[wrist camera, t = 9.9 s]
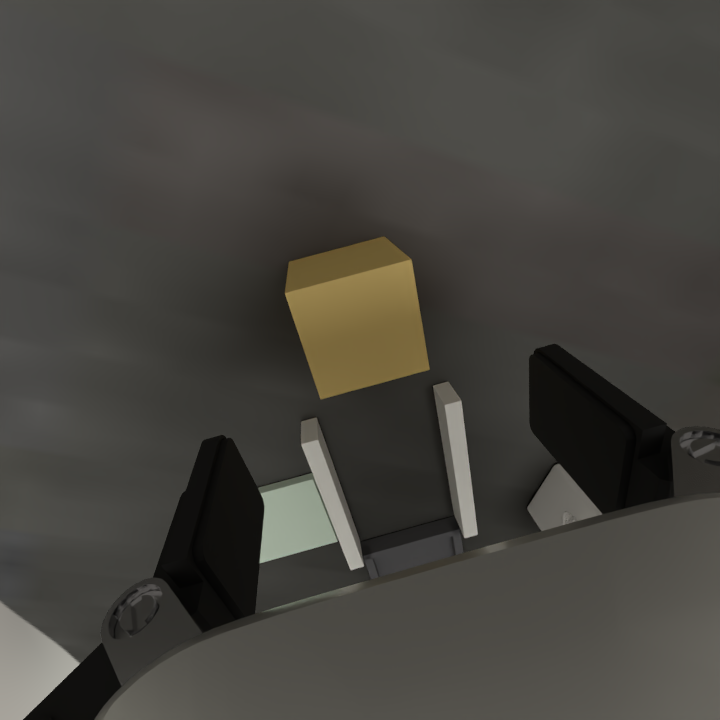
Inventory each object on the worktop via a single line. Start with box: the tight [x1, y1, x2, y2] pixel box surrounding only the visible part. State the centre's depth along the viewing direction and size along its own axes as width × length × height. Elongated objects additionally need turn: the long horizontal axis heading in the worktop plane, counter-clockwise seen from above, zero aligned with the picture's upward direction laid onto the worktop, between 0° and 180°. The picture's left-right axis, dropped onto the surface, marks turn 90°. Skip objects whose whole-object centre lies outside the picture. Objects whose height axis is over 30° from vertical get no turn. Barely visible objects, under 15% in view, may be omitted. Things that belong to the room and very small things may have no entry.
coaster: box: [258, 473, 338, 563], centre depth 27 cm, size 6×6×1 cm
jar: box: [527, 464, 602, 531], centre depth 25 cm, size 9×8×12 cm
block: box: [285, 237, 430, 399], centre depth 18 cm, size 5×5×6 cm
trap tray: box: [361, 516, 463, 579], centre depth 31 cm, size 7×8×1 cm
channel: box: [301, 382, 478, 570], centre depth 26 cm, size 12×10×2 cm
